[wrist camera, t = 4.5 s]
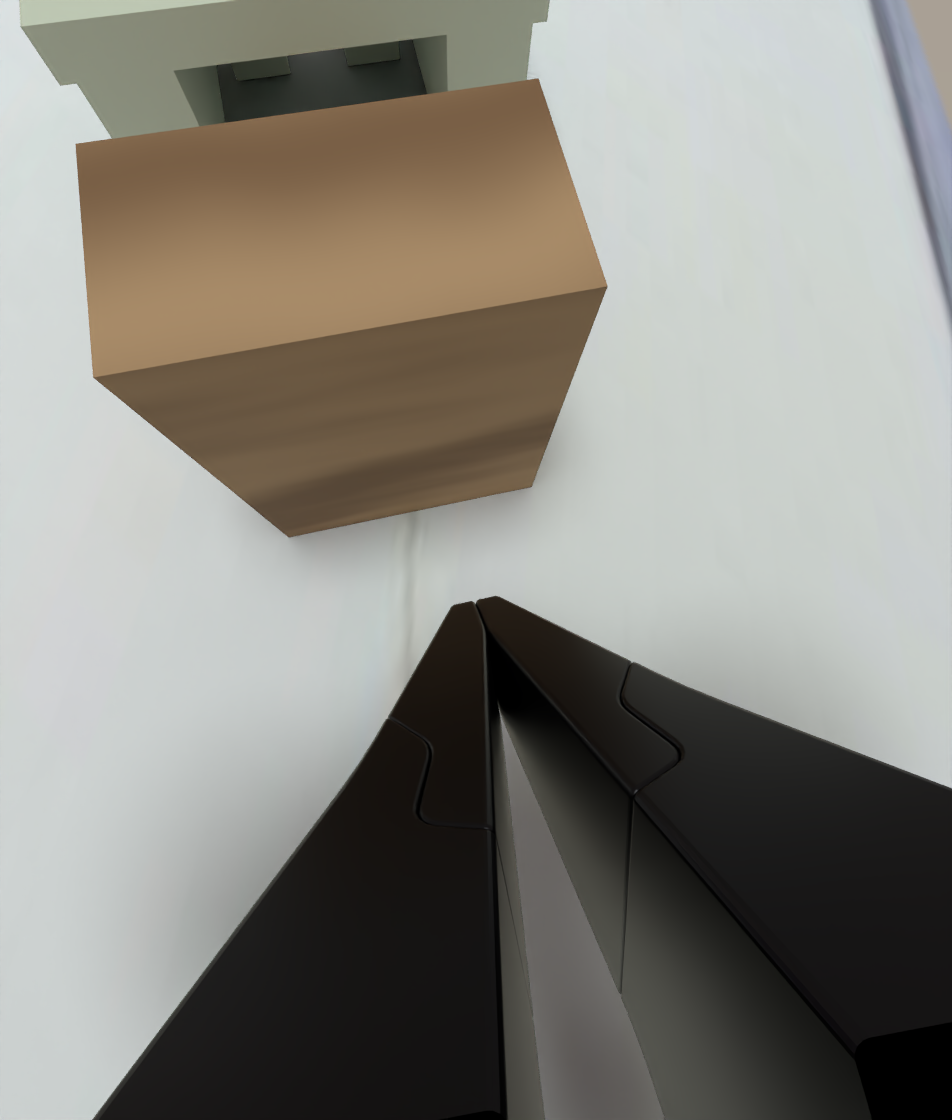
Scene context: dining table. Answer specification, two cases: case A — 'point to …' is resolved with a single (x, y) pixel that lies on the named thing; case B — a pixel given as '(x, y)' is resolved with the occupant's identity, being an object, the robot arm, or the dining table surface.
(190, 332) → the rectangular block
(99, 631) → the dining table surface
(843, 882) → the robot arm
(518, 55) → the green miniature desk
